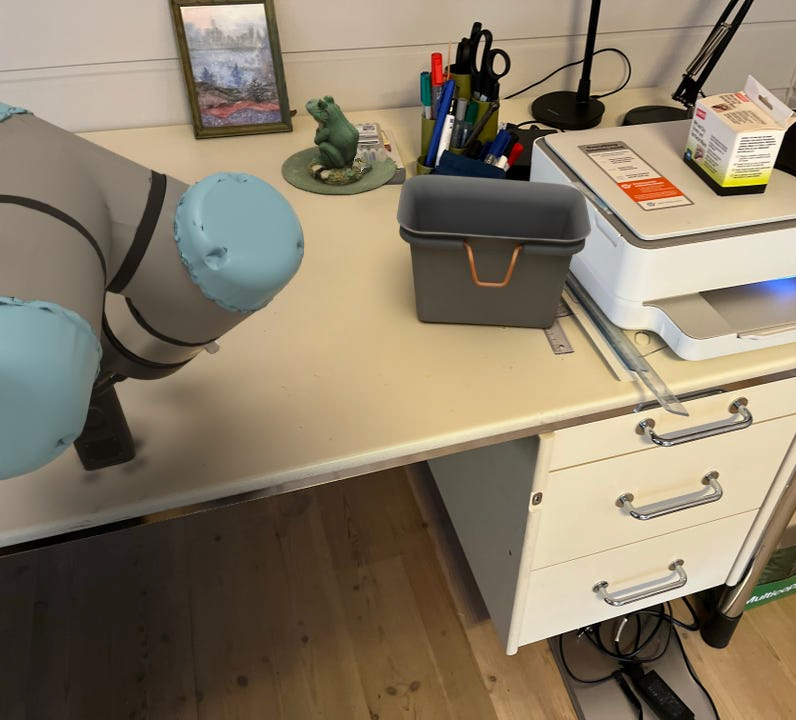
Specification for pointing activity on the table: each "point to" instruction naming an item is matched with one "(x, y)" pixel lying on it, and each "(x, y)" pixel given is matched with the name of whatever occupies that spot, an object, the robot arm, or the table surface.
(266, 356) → the table surface
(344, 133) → the frog figurine
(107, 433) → the walkie-talkie
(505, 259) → the storage bin
